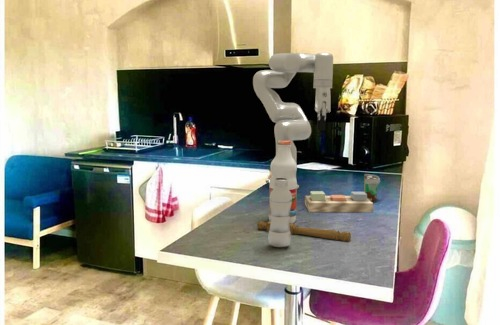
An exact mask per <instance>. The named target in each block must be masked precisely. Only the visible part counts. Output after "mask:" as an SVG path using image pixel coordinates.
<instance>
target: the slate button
mask: <svg viewBox="0 0 500 325" xmlns="http://www.w3.org/2000/svg"><path fill="white" fill-rule="evenodd" d="M350 196H351V200H352V201H367V194H366V193H365V192H364V191H350Z"/></svg>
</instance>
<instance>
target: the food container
mask: <svg viewBox="0 0 500 325" xmlns="http://www.w3.org/2000/svg"><path fill="white" fill-rule="evenodd" d="M363 180H364V181H363V183H364V184H363V192H365V193H366V194H367V198H368V199H369V200H370V201H371V202H372V203H375V202H377V197H378V191H379V184H380V183H381V178H380V176H378V175H376V174H369V173H364V178H363Z"/></svg>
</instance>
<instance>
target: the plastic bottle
mask: <svg viewBox="0 0 500 325" xmlns="http://www.w3.org/2000/svg"><path fill="white" fill-rule="evenodd" d="M274 185H275V188H274V189H273V190H272V192H271V193H270V196H269V198H270V208H271V222H270V230H269V232H268V235H267V236H268V237H267V238H268V244H269V245H270V246H271V247H275V248H285V247H288V246H289V245H290V244H291V241H292V235H291V233H290V221H289V219H290V209H291V203H292V194H291V192H290V191H289V189H288V188H287V186H288V180H287V178H275V183H274ZM269 198H268V199H269Z"/></svg>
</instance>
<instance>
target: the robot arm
mask: <svg viewBox="0 0 500 325" xmlns="http://www.w3.org/2000/svg"><path fill="white" fill-rule="evenodd" d="M268 67H269V68H270V69H264V70H262V69H261V70H259V71H257V72H256V73H255V74H254V75H253V77H252V86H253V90H254V92H255V94H256V96H257V98H258V99H259V100H260V101H261V103H262V104H263V107H264V108H265V111H266V113H267V114H268V116H269V119H270V120H271V121H272V122H273V123H275V125H274V127H273V128H274V129H273V130H274V132H273V133H274V138H275V155H276V154H277V150H278V146H277V141H279V140H287V141H291V147H290V150H291V154H292V157H293V159H294V160H295V162H296V163H297V158H298V157H297V147H296V145H295V143H294V141H303V140H304V141H305V140H307V139H309V138H310V136H311V134H312V127H311V123H310V122H309V120H308V118H307V116H306V115H305V112H304V111H303V109H302V108H301V106H300V104H297V103H295V102H284V101H282V99H281V97H280V95H279V94H278V93H277V92H276V91H275V90H274V89H283V88H286V87H288V85H289V84H290V83H291V81H292V79H293V78H294V77H295V76H296V74H297V73H313V87H312V88H313V89H315V100H314V101H315V103H314V110H315V112H316V113H317V120H316V130H317V131H326V125H327V124H326V123H327V120H326V119H327V114H329V113H330V112H331V103H332V102H331V97H332V96H331V89H333V75H334V69H333V68H334V56H333V54H332V53H328V52H320V53H319V52H318V53H303V52H301V53H300V52H298V53H297V52H296V53H295V52H291V53H290V52H285V53H284V52H280V53H274V54H273V55H271V56H270V58H269V59H268ZM295 177H296V178H297V173H296V174H295ZM265 183H266V184H270V178H265ZM299 188H300V184H298V183H297V190H298V189H299Z"/></svg>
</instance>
